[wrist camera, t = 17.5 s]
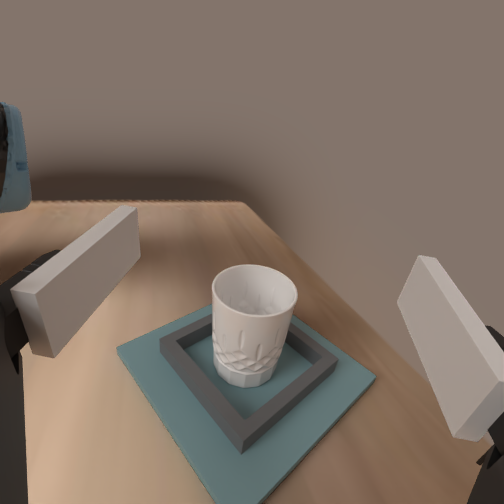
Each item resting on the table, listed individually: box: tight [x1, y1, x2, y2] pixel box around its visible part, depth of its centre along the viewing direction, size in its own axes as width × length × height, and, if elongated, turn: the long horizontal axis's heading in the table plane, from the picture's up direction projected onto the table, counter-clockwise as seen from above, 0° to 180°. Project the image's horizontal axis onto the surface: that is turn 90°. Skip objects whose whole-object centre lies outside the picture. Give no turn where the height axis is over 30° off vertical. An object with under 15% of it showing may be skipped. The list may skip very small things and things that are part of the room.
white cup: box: [212, 264, 298, 388], centre depth 31 cm, size 8×8×10 cm
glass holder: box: [117, 304, 376, 504], centre depth 34 cm, size 20×20×3 cm
